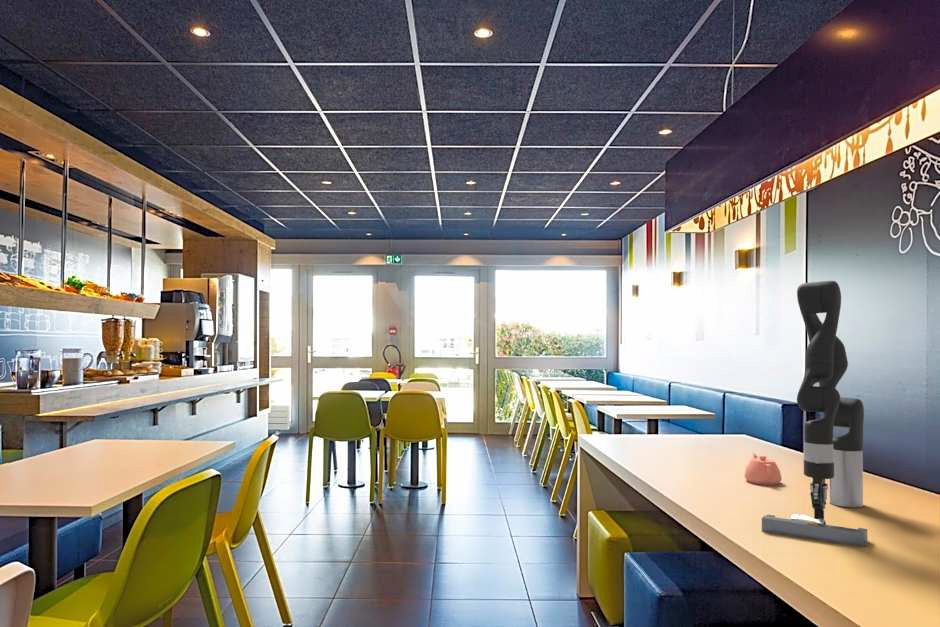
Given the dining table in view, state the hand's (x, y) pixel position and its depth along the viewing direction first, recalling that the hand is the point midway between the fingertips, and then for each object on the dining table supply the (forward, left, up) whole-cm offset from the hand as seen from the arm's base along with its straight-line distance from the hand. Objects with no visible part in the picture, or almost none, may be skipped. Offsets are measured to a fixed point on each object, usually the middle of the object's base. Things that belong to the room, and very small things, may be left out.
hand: (819, 522), depth 188 cm
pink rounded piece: (-56, -26, -2) cm, 62 cm away
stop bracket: (+10, 0, -1) cm, 10 cm away
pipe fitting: (+3, -2, -2) cm, 4 cm away
